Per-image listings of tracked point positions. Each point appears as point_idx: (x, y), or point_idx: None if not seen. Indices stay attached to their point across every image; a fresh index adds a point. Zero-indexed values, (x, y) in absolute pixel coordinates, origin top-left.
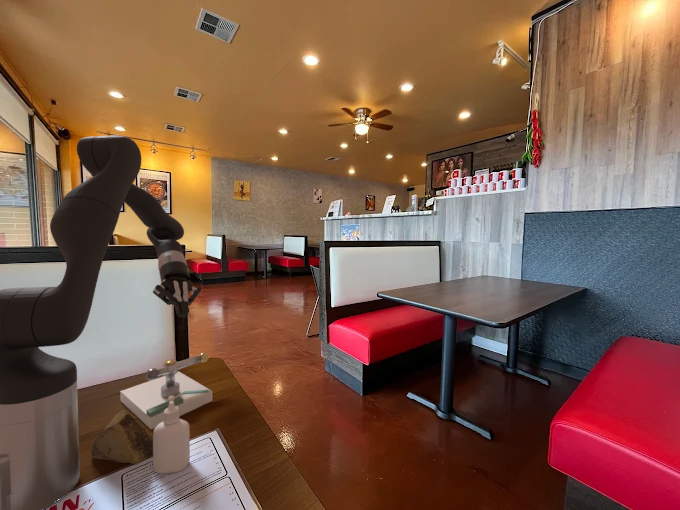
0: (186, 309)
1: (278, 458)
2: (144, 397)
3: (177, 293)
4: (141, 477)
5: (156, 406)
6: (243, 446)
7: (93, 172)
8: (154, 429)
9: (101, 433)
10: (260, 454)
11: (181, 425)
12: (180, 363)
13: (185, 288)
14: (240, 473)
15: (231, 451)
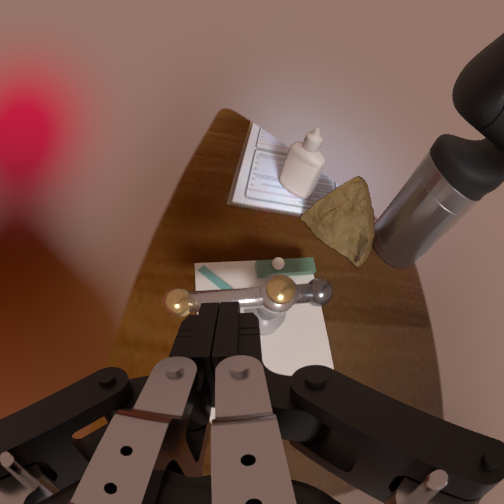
0: (203, 313)
1: (210, 133)
2: (307, 340)
3: (257, 417)
4: (321, 196)
5: (301, 269)
6: (224, 161)
7: None
8: (325, 160)
9: (373, 213)
10: (218, 145)
11: (300, 142)
12: (252, 288)
13: (105, 492)
14: (246, 143)
15: (238, 164)
